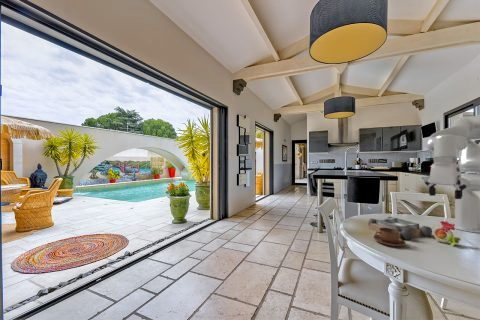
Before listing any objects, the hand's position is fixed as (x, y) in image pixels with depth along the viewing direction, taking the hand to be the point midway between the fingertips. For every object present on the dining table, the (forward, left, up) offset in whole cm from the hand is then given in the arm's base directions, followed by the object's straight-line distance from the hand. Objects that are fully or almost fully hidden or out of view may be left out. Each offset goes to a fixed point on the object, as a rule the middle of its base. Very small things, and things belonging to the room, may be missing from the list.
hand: (444, 197), depth 95 cm
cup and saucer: (+25, -8, -22) cm, 34 cm away
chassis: (+5, -18, -22) cm, 28 cm away
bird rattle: (0, 0, -22) cm, 22 cm away
